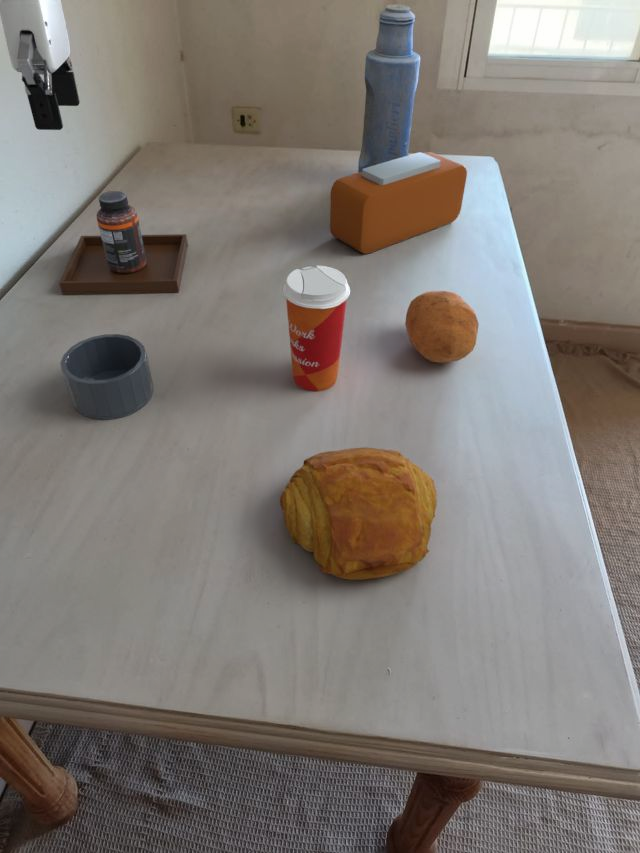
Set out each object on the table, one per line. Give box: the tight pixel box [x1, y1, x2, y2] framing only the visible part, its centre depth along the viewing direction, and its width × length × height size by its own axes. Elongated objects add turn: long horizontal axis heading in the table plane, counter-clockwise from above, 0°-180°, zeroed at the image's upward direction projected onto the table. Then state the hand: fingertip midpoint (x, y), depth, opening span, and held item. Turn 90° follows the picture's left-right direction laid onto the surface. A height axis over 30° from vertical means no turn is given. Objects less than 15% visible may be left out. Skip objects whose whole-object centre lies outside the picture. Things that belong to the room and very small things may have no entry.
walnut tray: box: [58, 233, 189, 296], centre depth 99 cm, size 17×15×2 cm
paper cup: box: [282, 264, 351, 392], centre depth 75 cm, size 8×8×14 cm
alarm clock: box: [329, 151, 468, 255], centre depth 107 cm, size 24×8×11 cm, turn 128°
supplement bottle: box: [96, 190, 146, 273], centre depth 95 cm, size 6×6×11 cm
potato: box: [404, 290, 479, 364], centre depth 82 cm, size 9×11×8 cm
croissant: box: [279, 446, 438, 581], centre depth 61 cm, size 14×16×8 cm
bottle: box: [357, 4, 421, 173], centre depth 116 cm, size 10×10×30 cm
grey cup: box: [60, 333, 154, 421], centre depth 75 cm, size 10×10×6 cm
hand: (59, 116), depth 81 cm, fingers open, 9 cm apart
